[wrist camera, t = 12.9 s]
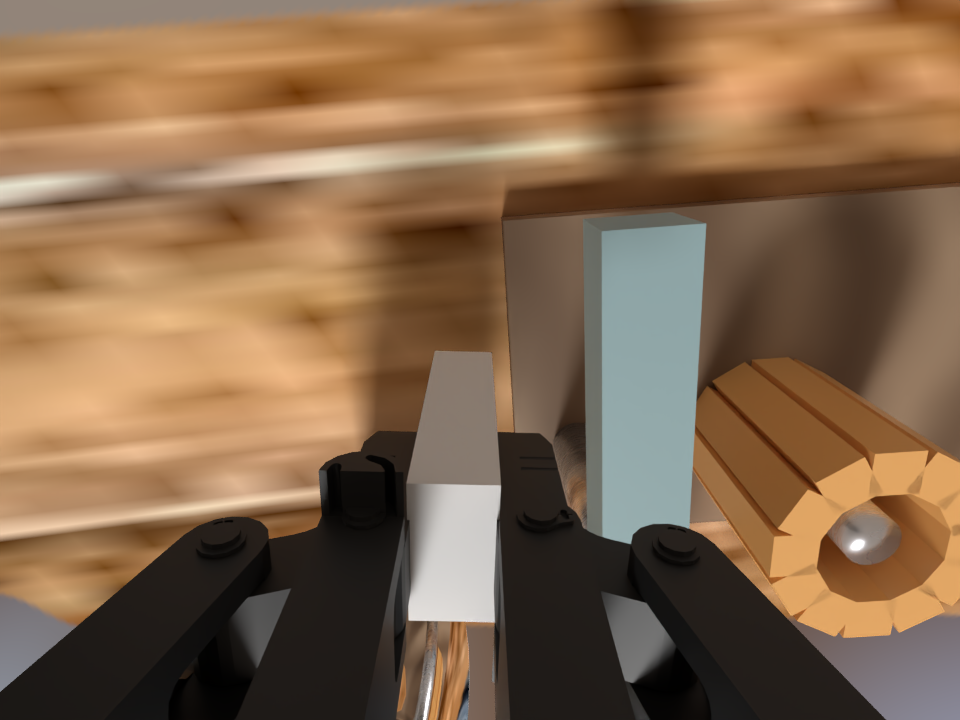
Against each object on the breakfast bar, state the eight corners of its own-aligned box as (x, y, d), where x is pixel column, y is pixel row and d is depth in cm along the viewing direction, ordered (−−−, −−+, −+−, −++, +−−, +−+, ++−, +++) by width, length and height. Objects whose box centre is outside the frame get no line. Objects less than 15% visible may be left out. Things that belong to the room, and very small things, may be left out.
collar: (681, 503, 30) (762, 643, 22) (688, 364, 28) (783, 460, 19) (831, 493, 30) (971, 629, 21) (852, 352, 27) (1021, 444, 19)
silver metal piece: (553, 467, 29) (586, 601, 21) (552, 424, 28) (585, 545, 20) (779, 452, 29) (909, 581, 20) (785, 408, 28) (921, 522, 20)
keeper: (668, 612, 20) (694, 672, 18) (576, 618, 21) (590, 678, 18) (687, 211, 16) (723, 222, 14) (568, 220, 16) (584, 232, 14)
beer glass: (316, 488, 31) (186, 766, 17) (428, 430, 30) (388, 677, 16) (386, 580, 33) (322, 897, 19) (494, 529, 32) (509, 825, 18)
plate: (519, 517, 32) (521, 534, 31) (501, 217, 27) (502, 220, 25) (1079, 480, 32) (1107, 495, 30) (1176, 166, 26) (1216, 167, 25)
